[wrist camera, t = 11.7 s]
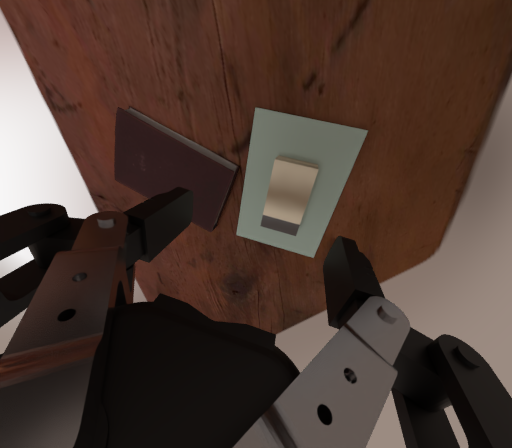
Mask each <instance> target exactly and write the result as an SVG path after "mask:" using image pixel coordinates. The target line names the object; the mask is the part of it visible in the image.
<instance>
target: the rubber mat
mask: <svg viewBox="0 0 512 448" xmlns="http://www.w3.org/2000/svg"><path fill="white" fill-rule="evenodd" d="M367 132H368V130H363V129H358V128H353V127H348V126H344V125H339V124H334V123H329V122H324V121H319V120H314V119H310V118H305V117H300V116H295V115H290V114H285V113H281V112H276V111H271V110H266V109H261V108H255V114H254V121H253V128H252V134H251V141H250V148H249V154H248V161H247V168H246V174H245V181H244V188H243V194H242V201H241V208H240V214H239V221H238V228H237V234H236V235H239V236H242V237H245V238H249V239H252V240H255V241H259V242H262V243H266V244H269V245H272V246H276V247H279V248H282V249H286V250H289V251H292V252H296V253H299V254H302V255H306V256H309V257H312V258H314V255H315V253H316V251H317V248H318V246H319V244H320V241H321V239H322V237H323V234H324V232H325V230H326V227H327V225H328V223H329V221H330V218H331V216H332V214H333V211H334V209H335V207H336V204H337V202H338V200H339V197H340V195H341V193H342V190H343V188H344V186H345V183H346V181H347V179H348V176H349V174H350V172H351V169H352V167H353V165H354V162H355V160H356V158H357V155H358V153H359V151H360V149H361V146H362V144H363V142H364V139H365V137H366V135H367ZM278 155H280V156H284V157H288V158H292V159H297V160H301V161H305V162H310V163H314V164H318V169H319V170H318V173H317V176H316V179H315V182H314V185H313V188H312V190H311V193H310V196H309V199H308V202H307V205H306V208H305V211H304V214H303V217H302V220H301V223H300V226H299V229H298V232H297V235H296V236H293V235H290V234H286V233H283V232H279V231H275V230H272V229H268V228H265V227H261V226H260V225H261V220H262V216H263V211H264V207H265V202H266V197H267V193H268V188H269V184H270V179H271V174H272V170H273V165H274V161H275V158H276V157H277V156H278Z"/></svg>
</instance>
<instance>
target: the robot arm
mask: <svg viewBox="0 0 512 448" xmlns="http://www.w3.org/2000/svg"><path fill="white" fill-rule="evenodd" d="M193 197H194V195H193V191H192V190H188V189H185V188H182V187H176V188H174V189H173V190H171V191H169V192H166V193H161V194H157V195H155V196H153V197H152V198H150V199H148V200H146V201H144V203H140V204H138V205H137V206H135V207H133V208H131V209H129V210H127V211H125V212H123V213H121V212H117V211H104V212H98V213H95V214H92V215H90V216H89V217H87V218H86V219H79V218H69V217H68V214H67V212H66V209H65V207H63V206H61V205H58V204H36V205H31V206H27V207H24V208H21V209H18V210H15V211H12V212H9V213H7V214H4V215H1V216H0V260H2V259H4V258H6V257H8V256H10V255H12V254H14V253H16V252H18V251H20V250H22V249H24V248H26V247H29V249H30V251H31V253H32V255H33V257H34V260H32V261H30V262H28V263H26V264H25V265H23V266H21V267H19V268H18V269H16V270H14V271H12V272H11V273H9V274H7V275H5V276H4V277H2V278H0V327H2V326H3V325H4V324H6V323H7V322H8V321H10V320H11V319H13V318H14V317H15V316H17V315H18V314H19V313H20V312H22V311H23V310H25V309H26V308H27V307H28V308H27V310H26V312H25V314H24V316H23V318H22V319H21V321H20V323H19V325H18V327H17V329H16V331H15V333H14V335H13V337H12V339H11V341H10V342H9V344H8V346H7V348H6V350H5V352H4V353H3V354H0V448H366V445H367V443H368V441H369V439H370V436H371V434H372V432H373V429H374V427H375V425H376V422H377V420H378V418H379V416H380V413H381V411H382V409H383V407H384V404H385V402H386V399H387V397H388V395H389V392H390V391H392V394H393V398H394V402H395V406H396V410H397V414H398V418H399V421H400V425H401V429H402V433H403V437H404V441H405V445H406V448H460V446H459V444H458V442H457V439H456V437H455V435H454V432H453V430H452V427H451V425H450V423H449V420H448V418H447V415H446V413H445V411H444V408H446V407H448V406H450V405H452V406H453V408H454V411H455V412H456V415H457V417H458V419H459V422H460V424H461V426H462V428H463V430H464V433H465V435H466V437H467V440H468V445H469V448H512V398H511V396H510V395H509V393H508V392H507V391H506V389H505V388H504V386H503V385H502V383H501V382H500V380H499V379H498V377H497V376H496V374H495V373H494V371H493V370H492V369H491V367H490V366H489V364H488V363H487V362H486V361H485V360H484V358H483V357H481V355H480V354H479V353H477V352H476V351H475V350H474V349H473V348H472V347H470V346H469V345H468V344H466V343H465V342H463V341H462V340H460V339H458V338H456V337H454V336H451V335H446V334H444V335H441V336H439V337H438V338H437V339H435V340H432V339H430V338H429V337H426V336H425V335H423V334H422V333H420V332H418V331H416V330H414V329H413V328H411V327H410V323H409V320H408V318H407V317H406V316H405V314H404V313H403V312H402V311H401V310H400V309H399V308H398V307H397V306H396V305H395V304H393V303H392V302H390V301H389V300H387V299H385V297H384V294H383V292H382V290H381V287H380V285H379V282H378V280H377V278H376V277H375V276H376V275H375V273H374V271H373V270H372V269H373V268H372V266H371V263H370V261H369V260H368V259H367V258H366V256H365V255H364V254H363V253H361V252H359V250H358V247H357V245H356V242H355V241H354V240H351V239H348V238H345V237H342V236H338V237H337V238H336V240H335V242H334V244H333V246H332V247H331V249H330V251H329V253H328V255H327V257H326V259H325V261H324V265H323V274H324V284H325V294H326V303H327V313H328V323H329V326H332V327H334V328H337V329H339V331H338V332H337V333H336V334H335V336H333V338H332V339H331V340H330V341H329V342H328V343H327V344H326V346H325V347H324V348H323V349H322V350H321V351H320V352H319V353H318V354H317V355H316V357H315V358H314V359H313V360H312V361H311V362H310V363H309V364H308V366H307V367H306V368H305V369H304V370H303V371H302V372H301V373H300V372H299V370H298V369H297V367H296V366H295V365H294V363H293V362H292V361H291V360H290V359H289V358H288V356H287V355H286V354H285V353H284V352H282V351H281V350H280V349H279V348H278V347H276V346H275V338H276V335H275V334H272V333H270V332H267V331H264V330H261V329H259V328H256V327H253V326H250V325H247V324H239V323H228V322H217V321H213V320H211V319H209V318H208V317H207V316H205V315H204V314H202V313H201V312H199V311H198V310H197V309H195V308H194V307H192V306H191V305H190V304H188V303H186V302H183V301H180V300H178V299H175V298H172V297H169V296H166V295H164V294H161V293H160V294H159V295H158V297H157V298H156V299H155V300H154V302H137V303H133V294H134V281H135V262H136V261H137V260H139V259H140V260H143V261H146V262H150V261H151V260H152V259H153V258H155V257H156V256H157V255H158V254H159V253H160V252H161V251H162V250H163V249H164V248H165V247H166V246H167V245H168V244H170V243H171V242H172V241H173V240H174V239H175V238H176V237H177V236H178V235H179V234H180V233H181V232H182V231H183V230H184V229H186V228H187V227H188V226H189V224H190V223H191V220H192V216H193Z"/></svg>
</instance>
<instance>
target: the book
mask: <svg viewBox="0 0 512 448" xmlns="http://www.w3.org/2000/svg"><path fill="white" fill-rule="evenodd" d="M114 168H115V180H116V181H118V182H119V183H121V184H123V185H125V186H127V187H129V188H131V189H133V190H134V191H136V192H138V193H140V194H142V195H143V196H145V197H147V198H149V199H150V198H152V197H153V196H155V195H157V194H161V193H166V192H169V191H171V190H173V189H174V188H176V187H182V188H185V189H188V190H192V191H193V195H194V197H193V216H192V220H191V222H193V223H194V224H196V225H198V226H200V227H202V228H203V229H205V230H207V231H209V232H212V231H213V230H214V229H215V228H216V226H217V223H218V218H219V217H220V216H221V213H222V210H223V208H224V205H225V203H226V201H227V198H228V196H229V193H230V190H231V188H232V186H233V183H234V181H235V178H236V175H237V173H238V170H239V166H238V165H236V164H234V163H233V162H231V161H229V160H227V159H225V158H223V157H222V156H220V155H218V154H216V153H214V152H212V151H210V150H208V149H207V148H205V147H202V146H201V145H199V144H197V143H195V142H193V141H191V140H189V139H187V138H185V137H183V136H181V135H180V134H178V133H176V132H174V131H172V130H170V129H168V128H166V127H164V126H163V125H161V124H159V123H157V122H155V121H154V120H152V119H150V118H148V117H147V116H145V115H144V114H142V113H140V112H139V111H137V110H136V109H134V108H132V107H130V106H129V109H128V110H123V109H122V108H119V107H118V109H117V113H116V125H115V163H114Z"/></svg>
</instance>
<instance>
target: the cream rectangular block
mask: <svg viewBox="0 0 512 448" xmlns="http://www.w3.org/2000/svg"><path fill="white" fill-rule="evenodd" d="M318 170H319V169H318V164H314V163H310V162H305V161H301V160H297V159H292V158H288V157H284V156H280V155H278V156H277V157H276V158H275V161H274V165H273V170H272V174H271V179H270V184H269V188H268V193H267V197H266V202H265V207H264V211H263V216H262V220H261V225H260V226H261V227H265V228H268V229H272V230H275V231H279V232H283V233H286V234H290V235H293V236H296V235H297V232H298V229H299V226H300V223H301V220H302V217H303V214H304V211H305V208H306V205H307V202H308V199H309V196H310V193H311V190H312V188H313V185H314V182H315V179H316V176H317V173H318Z"/></svg>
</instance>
